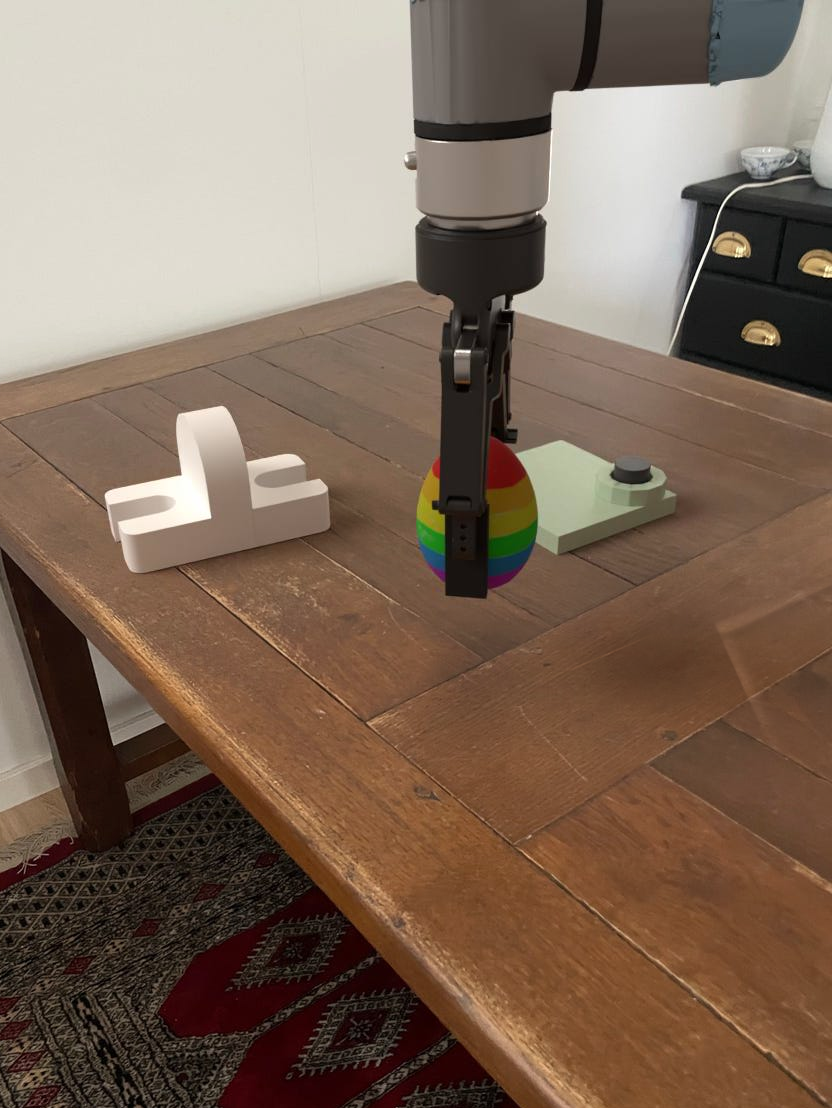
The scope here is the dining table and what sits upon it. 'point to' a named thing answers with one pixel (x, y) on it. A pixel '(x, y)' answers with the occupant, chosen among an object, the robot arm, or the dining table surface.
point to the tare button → (631, 470)
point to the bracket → (215, 500)
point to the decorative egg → (507, 517)
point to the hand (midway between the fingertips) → (476, 561)
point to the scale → (588, 497)
